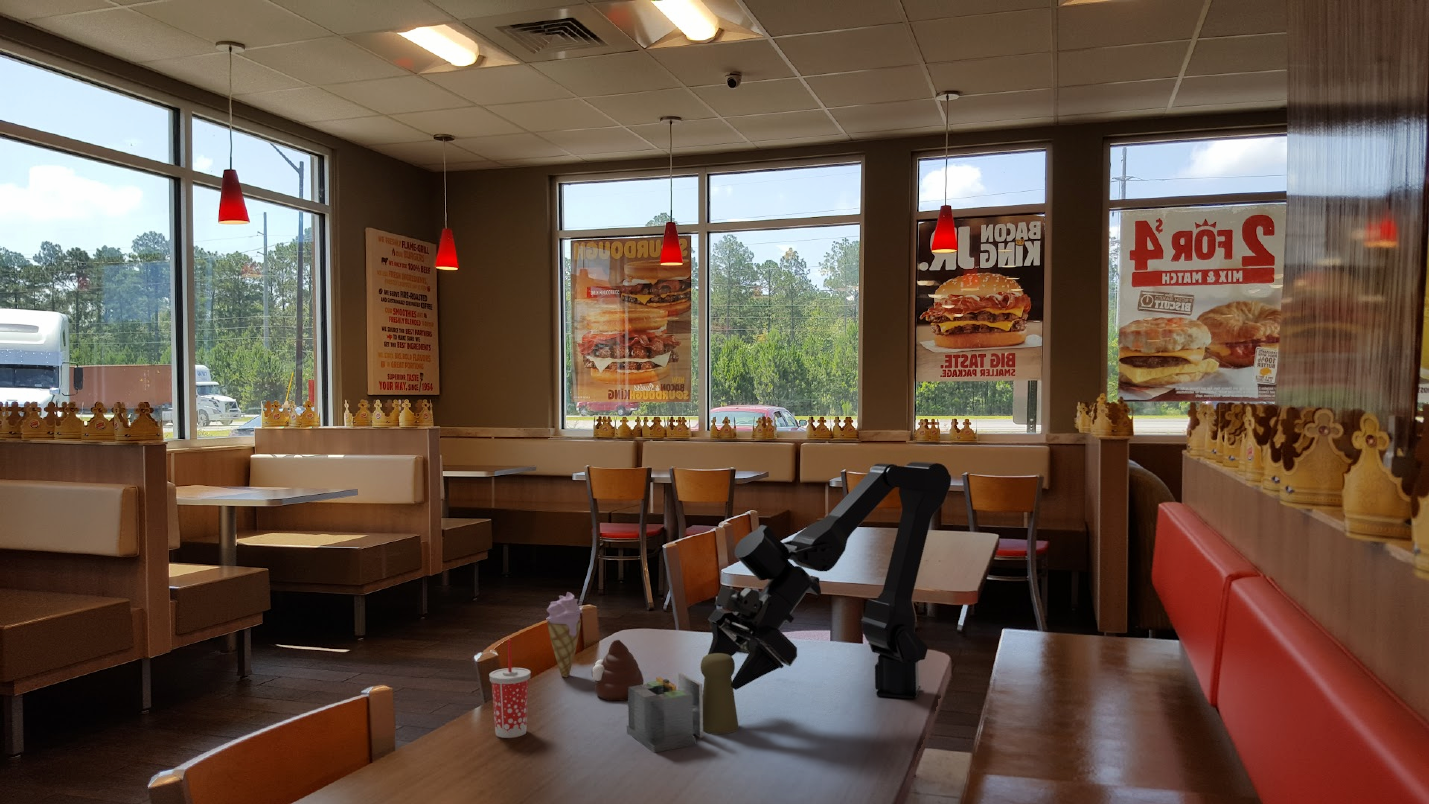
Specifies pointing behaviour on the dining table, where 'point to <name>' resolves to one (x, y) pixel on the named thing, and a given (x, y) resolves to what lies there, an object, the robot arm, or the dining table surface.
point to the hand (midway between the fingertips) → (718, 680)
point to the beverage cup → (510, 699)
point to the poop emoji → (616, 673)
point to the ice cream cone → (564, 630)
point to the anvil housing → (660, 717)
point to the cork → (718, 694)
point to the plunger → (697, 699)
